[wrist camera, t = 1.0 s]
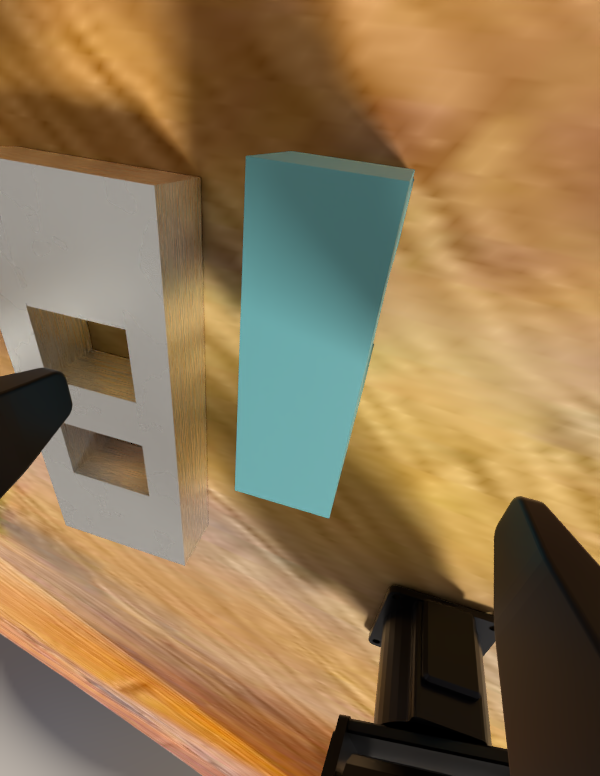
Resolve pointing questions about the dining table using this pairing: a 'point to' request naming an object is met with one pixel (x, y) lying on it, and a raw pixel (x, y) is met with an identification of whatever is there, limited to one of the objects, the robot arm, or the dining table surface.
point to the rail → (122, 310)
